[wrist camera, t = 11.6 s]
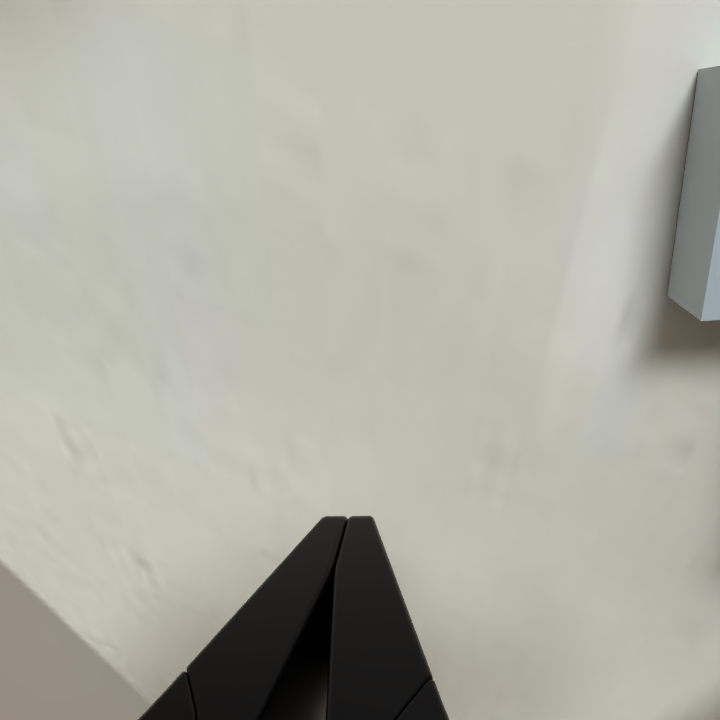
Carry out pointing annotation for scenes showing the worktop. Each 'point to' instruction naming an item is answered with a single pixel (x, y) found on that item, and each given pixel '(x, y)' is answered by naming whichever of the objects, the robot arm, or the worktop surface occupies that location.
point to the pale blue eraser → (700, 208)
